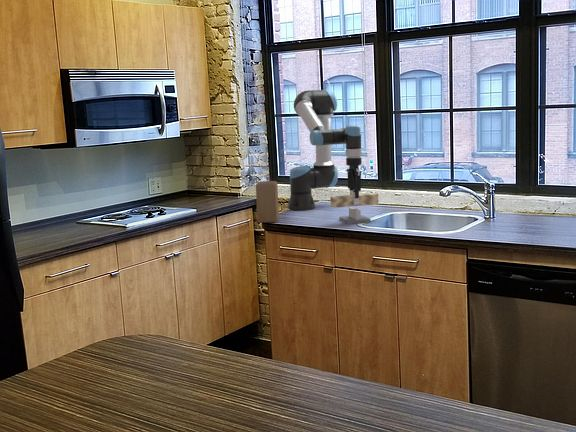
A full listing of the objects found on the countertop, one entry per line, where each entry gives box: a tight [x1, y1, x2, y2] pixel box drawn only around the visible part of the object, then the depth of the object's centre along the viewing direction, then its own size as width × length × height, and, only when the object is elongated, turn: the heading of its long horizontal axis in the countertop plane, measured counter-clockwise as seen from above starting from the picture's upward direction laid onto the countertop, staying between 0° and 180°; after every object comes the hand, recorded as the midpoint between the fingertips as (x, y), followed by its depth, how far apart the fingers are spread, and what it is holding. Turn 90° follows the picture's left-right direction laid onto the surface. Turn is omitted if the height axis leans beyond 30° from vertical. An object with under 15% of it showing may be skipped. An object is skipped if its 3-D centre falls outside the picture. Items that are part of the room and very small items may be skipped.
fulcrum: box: [339, 206, 372, 225], centre depth 336 cm, size 12×12×6 cm
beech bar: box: [329, 192, 379, 209], centre depth 334 cm, size 24×4×5 cm, turn 107°
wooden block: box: [255, 180, 280, 224], centre depth 342 cm, size 10×10×20 cm
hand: (354, 203), depth 335 cm, fingers closed on beech bar, 4 cm apart
